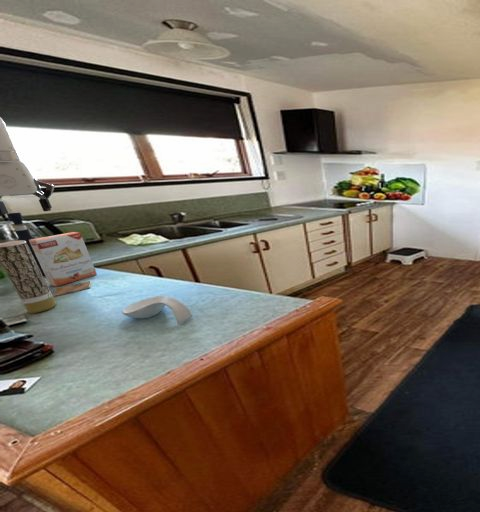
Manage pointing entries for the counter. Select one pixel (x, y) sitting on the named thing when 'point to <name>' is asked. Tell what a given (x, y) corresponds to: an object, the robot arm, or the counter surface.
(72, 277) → the cracker box
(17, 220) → the wine bottle
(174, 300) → the spoon rest
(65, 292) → the coaster
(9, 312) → the counter surface
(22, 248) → the bark print canister
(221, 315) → the counter surface
